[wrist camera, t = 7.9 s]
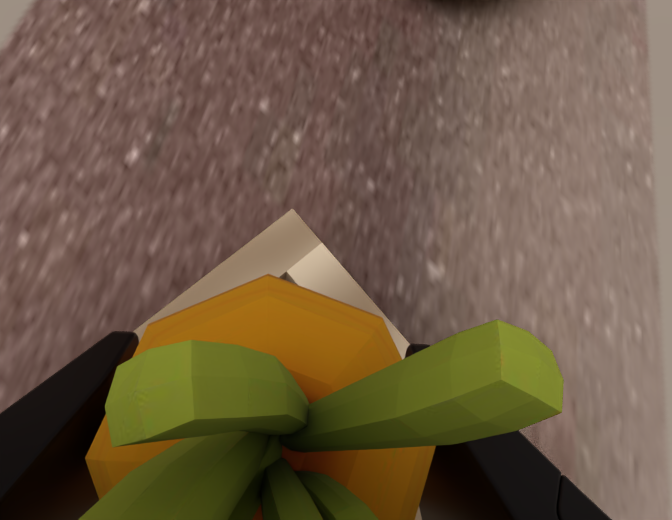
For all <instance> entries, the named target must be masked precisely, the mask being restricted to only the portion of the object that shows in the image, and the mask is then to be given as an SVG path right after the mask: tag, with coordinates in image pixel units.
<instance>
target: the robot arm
mask: <svg viewBox="0 0 672 520" xmlns="http://www.w3.org/2000/svg"><path fill="white" fill-rule="evenodd" d="M138 344H139V338H138V335H137V334H136V333H135V332H125V331H114V332H112V333H110V334H108V335H107V336H106V337H104V338H103V339H101V340H100V341H99V342H97V343H96V344H95V345H93V346H92V347H91V348H89V349H88V350H86V351H85V352H84V353H82V354H81V355H80V356H78V357H77V358H75V359H74V360H73V361H71V362H70V363H69V364H67V365H66V366H65V367H63V368H62V369H60V370H59V371H58V372H56V373H55V374H54V375H52V376H51V377H49V378H48V379H47V380H45V381H44V382H43V383H41V384H40V385H39V386H37V387H36V388H34V389H33V390H32V391H30V392H29V393H28V394H26V395H25V396H23V397H22V398H21V399H19V400H18V401H17V402H15V403H14V404H12V405H11V406H10V407H8V408H7V409H6V410H4V411H3V412H2V413H0V520H78V519H79V518H80V517H82V516H83V515H84V514H85V513H86V512H87V511H88V510H89V509H90V508H91V507H92V506H94V505H95V504H96V503H97V502H98V501H99V497H98V495H97V492H96V489H95V486H94V483H93V480H92V477H91V474H90V472H89V469H88V466H87V463H86V460H85V457H86V455H87V453H88V451H89V449H90V446H91V444H92V442H93V440H94V438H95V436H96V434H97V432H98V429H99V427H100V425H101V423H102V421H103V419H104V417H105V415H106V411H105V404H106V401H107V397H108V394H109V391H110V388H111V385H112V381H113V378H114V375H115V372H116V369H117V366H119V365H120V364H122V363H124V362H126V361H128V360H130V359H131V358H132V357H133V355H134V353H135V351H136V349H137V347H138ZM428 347H430V345H427V344H410V345H409V346H408V347H407V350H406V354H405V358H407V357H409V356H411V355H413V354H415V353H417V352H419V351H421V350H423V349H425V348H428ZM405 358H404V359H405ZM419 509H420V513H421V517H422V520H612V519H610V518H609V517H608V516H607V515H606V514H605V513H604V512H603V511H602V510H601V509H600V508H599V507H598V506H596V505H595V504H594V503H593V502H592V501H591V500H590V499H589V498H588V497H587V496H586V495H585V494H584V493H583V492H581V491H580V490H579V489H578V488H577V487H576V486H575V485H574V484H573V483H572V482H571V481H570V480H569V479H568V478H567V477H566V476H565V475H562V476H561V472H560V470H559V469H558V468H557V467H555V466H554V465H553V464H552V463H551V462H550V461H549V460H548V459H547V458H546V457H545V456H544V455H543V454H542V453H541V452H540V451H539V450H538V449H537V448H536V447H535V446H534V445H533V444H532V443H531V442H530V441H529V440H528V439H527V438H526V437H525V436H524V435H522V434H521V433H520V432H519V431H518V430H517V431H513V432H509V433H504V434H500V435H495V436H490V437H486V438H481V439H476V440H472V441H467V442H463V443H458V444H452V445H436V447H435V451H434V454H433V458H432V461H431V465H430V468H429V472H428V475H427V479H426V482H425V486H424V489H423V493H422V496H421V500H420V503H419Z"/></svg>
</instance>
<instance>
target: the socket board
mask: <svg viewBox="0 0 672 520" xmlns="http://www.w3.org/2000/svg"><path fill="white" fill-rule="evenodd" d="M266 274H270V275H273V276H276V277H278V278H281V279H283V280H286V281H289V282H291V283H294V284H297V285H299V286H302V287H304V288H307V289H310V290H312V291H315V292H317V293H320V294H323V295H325V296H328V297H331V298H333V299H336V300H338V301H341V302H344V303H346V304H349V305H351V306H354V307H357V308H359V309H362V310H365V311H367V312H370V313H372V314H375V315H378V316H380V317H382V318H383V320H384V322H385V324H386V326H387V328H388V330H389V332H390V335H391V337H392V339H393V341H394V343H395V345H396V347H397V349H398V351H399V353H400V356H401V358H402V360H403V359H404V358H405V354H406V350H407V347H408V346H409V345H410V344H409V343H408V342H407V340H406V339H405V338H404V337H403V336H402V335H401V333H400V332H399V331H398V330H397V329H396V328H395V327H394V325H393V324H392V323H391V322H390V321H389V320H388V318H387V317H386V316H385V315H384V314H383V313H382V312H381V310H380V309H379V308H378V307H377V306H376V305H375V303H374V302H373V301H372V300H371V299H370V298H369V297H368V295H367V294H366V293H365V292H364V291H363V290H362V288H361V287H360V286H359V285H358V284H357V283H356V282H355V280H354V279H353V278H352V277H351V276H350V275H349V273H348V272H347V271H346V270H345V269H344V268H343V266H342V265H341V264H340V263H339V262H338V261H337V260H336V258H335V257H334V256H333V255H332V254H331V253H330V251H329V250H328V249H327V248H326V247H325V246H324V245H323V243H322V242H321V241H320V240H319V239H318V238H317V236H316V235H315V234H314V233H313V232H312V231H311V230H310V228H309V227H308V226H307V225H306V224H305V223H304V221H303V220H302V219H301V218H300V217H299V216H298V215H297V213H296V212H295V211H294V210H293V209H291V210H290V211H289V212H288V213H286V214H285V215H284V216H282V217H281V218H280V219H278V220H277V221H276V222H275V223H273V224H272V225H271V226H269V227H268V228H267V229H265V230H264V231H263V232H262V233H260V234H259V235H258V236H256V237H255V238H254V239H252V240H251V241H250V242H249V243H247V244H246V245H245V246H243V247H242V248H241V249H239V250H238V251H237V252H236V253H234V254H233V255H232V256H230V257H229V258H228V259H227V260H225V261H224V262H223V263H221V264H220V265H219V266H217V267H216V268H215V269H214V270H212V271H211V272H210V273H208V274H207V275H206V276H204V277H203V278H202V279H201V280H199V281H198V282H197V283H195V284H194V285H193V286H191V287H190V288H189V289H188V290H186V291H185V292H184V293H182V294H181V295H180V296H178V297H177V298H176V299H175V300H173V301H172V302H171V303H169V304H168V305H167V306H166V307H164V308H163V309H162V310H160V311H159V312H158V313H156V314H155V315H154V316H153V317H151V318H150V319H149V320H147V321H146V322H145V323H143V324H142V325H141V326H140V327H138V328H137V329H136V330H134V331H133V332H135V333H136V334H137V335H138V338H139V342H140V340H141V338H142V336H143V334H144V332H145V330H146V327H147V325H148V324H150V323H152V322H154V321H157V320H159V319H161V318H164V317H166V316H169V315H171V314H173V313H176V312H178V311H180V310H183V309H185V308H188V307H190V306H192V305H195V304H197V303H199V302H202V301H204V300H207V299H209V298H211V297H214V296H216V295H219V294H221V293H223V292H226V291H228V290H230V289H233V288H235V287H238V286H240V285H242V284H245V283H247V282H249V281H252V280H254V279H257V278H259V277H261V276H264V275H266ZM415 520H422V517H421V513H420V509H419V507H418V510H417V514H416V517H415Z"/></svg>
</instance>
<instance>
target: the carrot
mask: <svg viewBox="0 0 672 520" xmlns="http://www.w3.org/2000/svg"><path fill="white" fill-rule="evenodd" d="M563 381H564V380H563V378H562V375H561V373H560V370H559V368H558V365H557V363H556V360H555V358H554V355H553V353H552V351H551V350H550V349H549V348H548V347H546V346H545V345H544V344H543V343H542V342H541V341H539V340H538V339H537V338H536V337H535V336H533V335H532V334H531V333H530V332H529V331H526V330H524V329H521V328H518V327H516V326H513V325H511V324H508V323H505V322H503V321H500V320H494V321H491V322H488V323H485V324H482V325H479V326H477V327H474V328H471V329H468V330H465V331H462V332H459V333H457V334H455V335H453V336H450V337H448V338H446V339H444V340H442V341H440V342H438V343H436V344H434V345H432V346H430V347H428V348H425V349H423V350H421V351H419V352H417V353H415V354H413V355H411V356H409V357H407V358H405V359H403V360H402V358H401V356H400V353H399V351H398V349H397V347H396V345H395V343H394V341H393V339H392V337H391V335H390V332H389V330H388V328H387V326H386V324H385V322H384V320H383V318H382V317H380V316H378V315H375V314H372V313H370V312H367V311H365V310H362V309H359V308H357V307H354V306H351V305H349V304H346V303H344V302H341V301H338V300H336V299H333V298H331V297H328V296H325V295H323V294H320V293H317V292H315V291H312V290H310V289H307V288H304V287H302V286H299V285H297V284H294V283H291V282H289V281H286V280H283V279H281V278H278V277H276V276H273V275H270V274H266V275H264V276H261V277H259V278H257V279H254V280H252V281H249V282H247V283H245V284H242V285H240V286H238V287H235V288H233V289H230V290H228V291H226V292H223V293H221V294H219V295H216V296H214V297H211V298H209V299H207V300H204V301H202V302H199V303H197V304H195V305H192V306H190V307H188V308H185V309H183V310H180V311H178V312H176V313H173V314H171V315H169V316H166V317H164V318H161V319H159V320H157V321H154V322H152V323H150V324H148V325H147V327H146V330H145V332H144V334H143V336H142V338H141V340H140V342H139V344H138V347H137V349H136V351H135V353H134V355H133V357H132V358H131V359H130V360H128V361H126V362H124V363H122V364H120V365H119V366H117V369H116V372H115V375H114V378H113V381H112V385H111V388H110V391H109V394H108V397H107V401H106V404H105V411H106V415H105V417H104V419H103V421H102V423H101V425H100V427H99V429H98V432H97V434H96V436H95V438H94V440H93V442H92V444H91V446H90V449H89V451H88V453H87V455H86V457H85V460H86V463H87V466H88V469H89V472H90V474H91V477H92V480H93V483H94V486H95V489H96V492H97V495H98V497H99V501H98V502H97V503H96V504H95V505H94V506H92V507H91V508H90V509H89V510H88V511H87V512H86V513H85V514H84V515H83V516H82V517H80V518H79V519H78V520H415V517H416V514H417V510H418V507H419V503H420V500H421V496H422V493H423V489H424V486H425V482H426V479H427V475H428V472H429V468H430V465H431V461H432V458H433V454H434V451H435V447H436V445H452V444H458V443H463V442H467V441H472V440H476V439H481V438H486V437H490V436H495V435H500V434H504V433H509V432H513V431H517V430H520V429H522V428H525V427H527V426H530V425H532V424H535V423H537V422H540V421H542V420H545V419H547V418H550V417H552V416H555V415H557V414H560V413H562V400H563Z"/></svg>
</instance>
